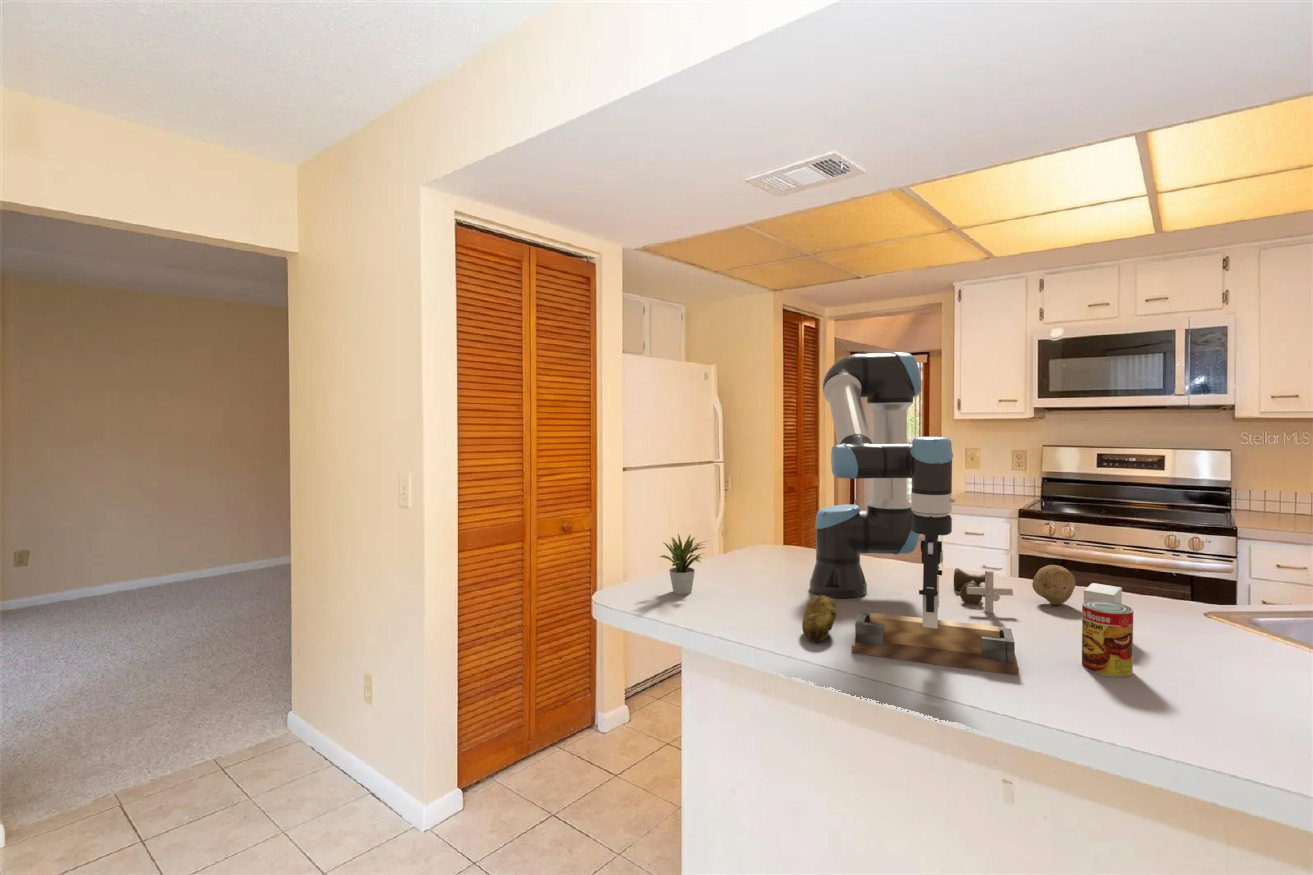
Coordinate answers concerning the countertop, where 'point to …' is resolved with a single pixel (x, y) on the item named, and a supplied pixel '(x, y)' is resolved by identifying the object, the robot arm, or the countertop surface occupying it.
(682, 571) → the house plant
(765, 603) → the countertop surface
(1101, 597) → the small box
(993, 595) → the pipe connector
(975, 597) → the kendama
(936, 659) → the end cap board
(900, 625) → the oak slat
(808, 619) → the potato
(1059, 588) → the natural sponge
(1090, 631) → the canned food
